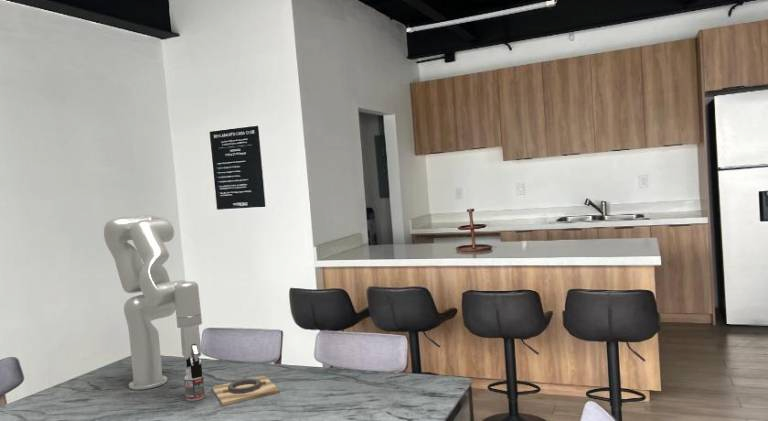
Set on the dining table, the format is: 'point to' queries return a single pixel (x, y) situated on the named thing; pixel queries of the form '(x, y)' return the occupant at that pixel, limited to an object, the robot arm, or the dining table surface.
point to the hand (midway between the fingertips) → (194, 374)
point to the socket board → (244, 390)
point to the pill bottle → (193, 386)
